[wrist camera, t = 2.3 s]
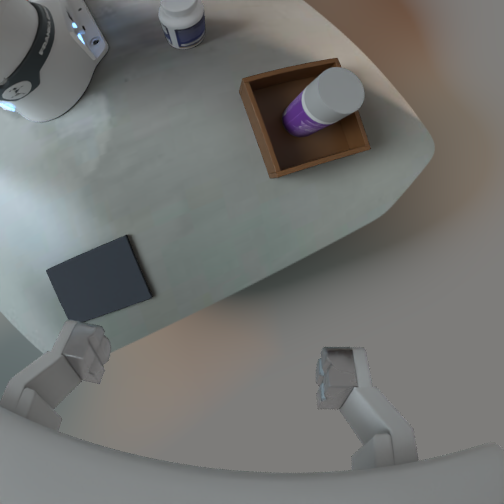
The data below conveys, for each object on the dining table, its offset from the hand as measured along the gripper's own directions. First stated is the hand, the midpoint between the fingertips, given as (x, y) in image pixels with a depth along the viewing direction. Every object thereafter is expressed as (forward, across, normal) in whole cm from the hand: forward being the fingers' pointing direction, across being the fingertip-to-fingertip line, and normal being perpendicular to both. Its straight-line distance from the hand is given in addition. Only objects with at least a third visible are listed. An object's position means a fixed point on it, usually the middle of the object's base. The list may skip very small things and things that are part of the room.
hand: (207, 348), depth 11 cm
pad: (+21, +20, +20) cm, 36 cm away
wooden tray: (+35, -6, +1) cm, 35 cm away
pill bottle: (+39, +10, -10) cm, 41 cm away
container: (+35, -6, +1) cm, 35 cm away
